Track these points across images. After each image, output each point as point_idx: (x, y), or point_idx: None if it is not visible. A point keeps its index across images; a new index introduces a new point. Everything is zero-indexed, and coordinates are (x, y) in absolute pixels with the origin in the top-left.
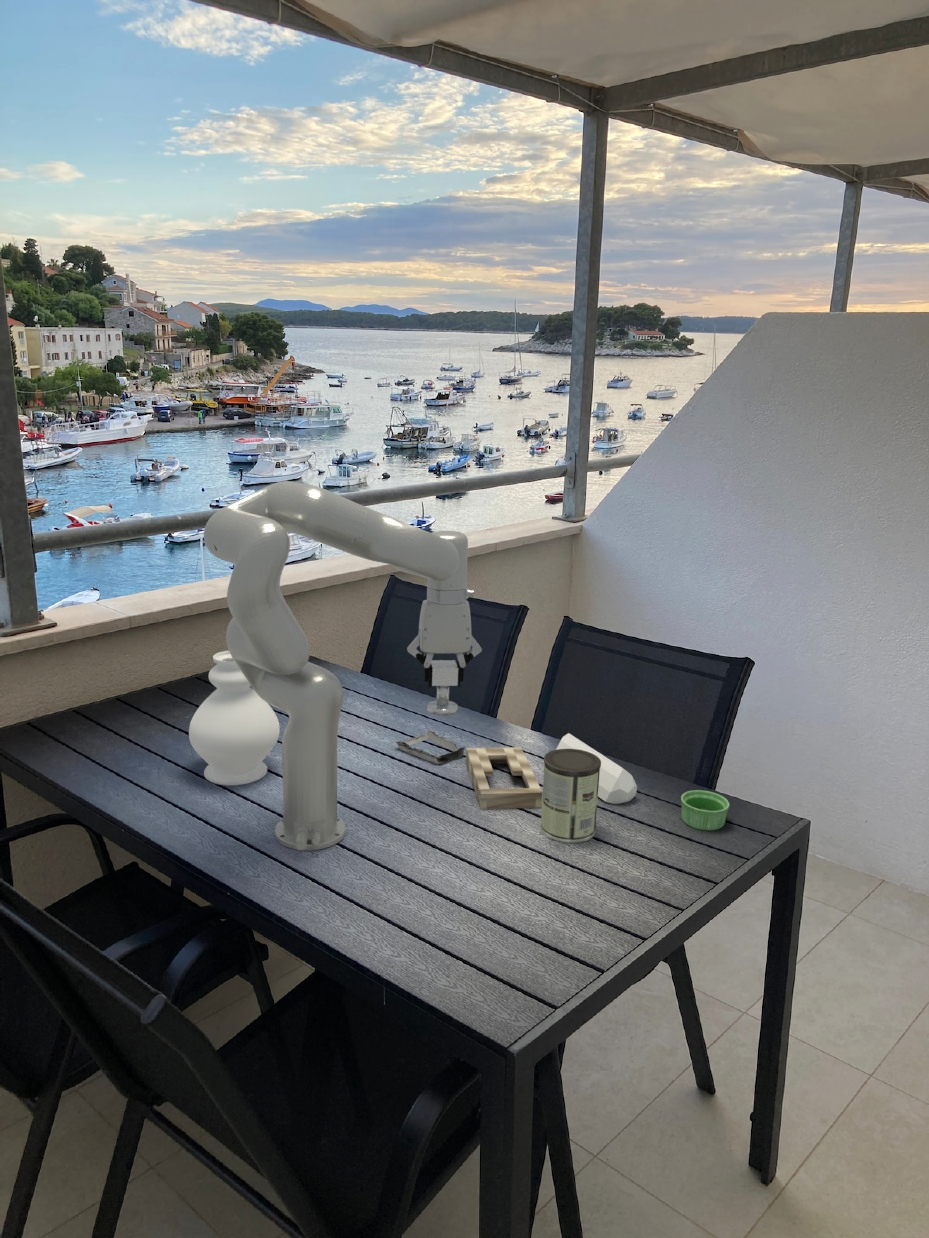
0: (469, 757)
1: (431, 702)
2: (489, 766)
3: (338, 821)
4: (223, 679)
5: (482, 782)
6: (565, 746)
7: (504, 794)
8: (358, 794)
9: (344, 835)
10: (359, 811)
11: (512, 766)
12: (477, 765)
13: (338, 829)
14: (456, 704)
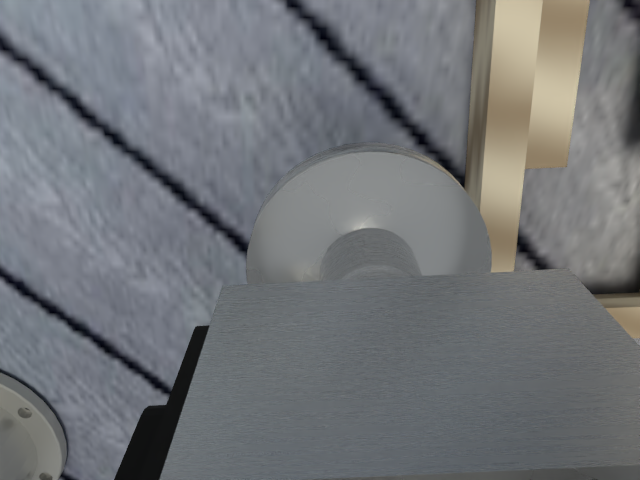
0: (496, 11)
1: (279, 214)
2: (563, 116)
3: (30, 420)
4: None
5: (495, 264)
6: None
7: None
8: (48, 215)
9: (66, 455)
10: (77, 325)
11: None
12: (512, 107)
13: (42, 456)
14: (486, 252)
